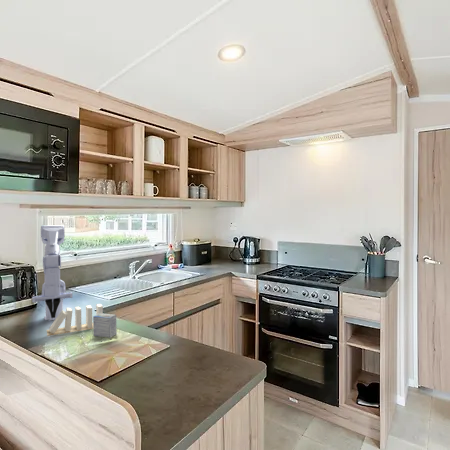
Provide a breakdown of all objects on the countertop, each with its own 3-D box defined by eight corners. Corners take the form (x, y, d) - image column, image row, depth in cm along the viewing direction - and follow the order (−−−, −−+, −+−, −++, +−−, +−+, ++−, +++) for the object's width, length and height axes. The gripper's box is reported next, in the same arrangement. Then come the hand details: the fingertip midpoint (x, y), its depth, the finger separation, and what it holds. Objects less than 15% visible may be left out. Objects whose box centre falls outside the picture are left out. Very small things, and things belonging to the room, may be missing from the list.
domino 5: (96, 323, 148) (96, 304, 147) (100, 322, 148) (100, 303, 148) (98, 326, 143) (98, 306, 143) (103, 325, 144) (102, 306, 144)
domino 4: (86, 324, 145) (85, 305, 145) (90, 324, 146) (90, 305, 146) (87, 328, 141) (87, 308, 141) (92, 327, 142) (92, 307, 142)
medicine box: (117, 335, 135) (116, 314, 134) (110, 339, 130) (110, 317, 130) (100, 333, 137) (99, 312, 137) (93, 337, 133) (92, 316, 132)
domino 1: (49, 328, 138) (62, 310, 140) (53, 330, 139) (66, 311, 141) (49, 331, 134) (63, 313, 136) (53, 333, 135) (67, 315, 137)
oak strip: (46, 332, 139) (46, 330, 139) (106, 322, 151) (106, 320, 151) (47, 338, 132) (47, 336, 132) (110, 327, 144) (110, 325, 144)
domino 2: (64, 327, 141) (66, 307, 141) (69, 327, 142) (71, 307, 142) (65, 331, 137) (67, 310, 137) (70, 331, 138) (72, 310, 138)
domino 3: (75, 326, 143) (75, 307, 143) (79, 325, 144) (79, 306, 144) (76, 330, 139) (76, 309, 139) (81, 329, 140) (81, 309, 140)
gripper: (32, 288, 129) (32, 322, 129) (73, 284, 136) (73, 317, 137) (31, 284, 135) (32, 318, 135) (71, 281, 142) (71, 312, 143)
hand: (53, 317), depth 137 cm, fingers closed
